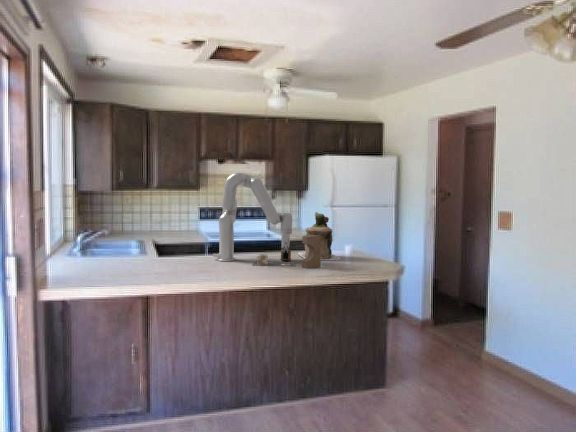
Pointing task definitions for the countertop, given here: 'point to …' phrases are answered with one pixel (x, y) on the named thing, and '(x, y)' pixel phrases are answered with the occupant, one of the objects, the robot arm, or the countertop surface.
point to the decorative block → (312, 251)
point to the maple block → (262, 259)
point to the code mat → (276, 264)
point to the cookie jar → (326, 238)
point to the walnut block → (288, 255)
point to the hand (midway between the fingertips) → (285, 257)
